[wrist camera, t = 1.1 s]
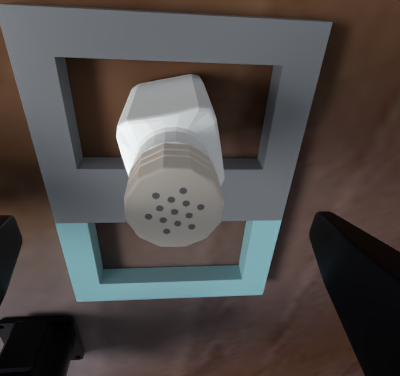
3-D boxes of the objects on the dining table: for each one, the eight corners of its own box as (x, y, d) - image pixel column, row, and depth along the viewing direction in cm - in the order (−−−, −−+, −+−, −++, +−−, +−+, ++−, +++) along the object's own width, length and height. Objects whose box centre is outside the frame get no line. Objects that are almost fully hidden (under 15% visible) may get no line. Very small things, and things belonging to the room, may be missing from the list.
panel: (258, 280, 26) (262, 294, 25) (81, 286, 25) (76, 301, 24) (319, 19, 15) (332, 22, 14) (10, 3, 14) (-6, 4, 13)
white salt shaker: (200, 69, 16) (230, 143, 8) (211, 136, 18) (242, 245, 10) (128, 83, 16) (89, 169, 8) (147, 148, 18) (130, 265, 11)
